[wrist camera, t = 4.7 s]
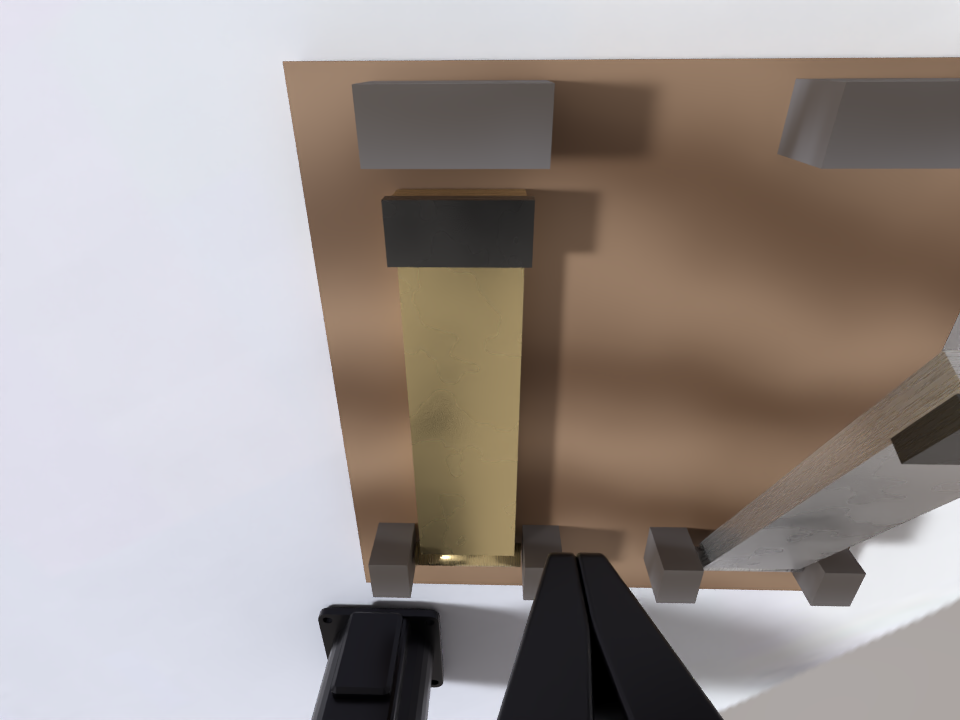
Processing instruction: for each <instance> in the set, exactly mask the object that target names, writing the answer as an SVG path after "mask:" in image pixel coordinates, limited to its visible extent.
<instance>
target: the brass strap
mask: <svg viewBox="0 0 960 720" xmlns="http://www.w3.org/2000/svg"><path fill="white" fill-rule="evenodd" d="M381 204H382V215H383V226H384V237H385V248H386V259H387V267H398V280H399V292H400V305H401V317H402V329H403V342H404V354H405V366H406V379H407V391H408V403H409V416H410V428H411V441H412V453H413V465H414V478H415V490H416V502H417V515H418V527H419V539H420V541H416V544H415V552H414V563H415V565H423V566H479V567H521V545H520V543H515V517H516V489H517V461H518V433H519V405H520V377H521V349H522V321H523V293H524V268H532V260H533V237H534V213H535V198H534V196H527V194H526V190H525V189H397V190H396V191H395V192H394V194H393V195H392V196H384V198H383V199H382V200H381Z"/></svg>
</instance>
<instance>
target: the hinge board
mask: <svg viewBox="0 0 960 720" xmlns="http://www.w3.org/2000/svg"><path fill="white" fill-rule="evenodd" d="M283 67H284V73H285V80H286V86H287V92H288V98H289V104H290V111H291V117H292V123H293V129H294V136H295V142H296V148H297V154H298V160H299V167H300V173H301V179H302V185H303V192H304V198H305V204H306V210H307V216H308V223H309V229H310V235H311V241H312V248H313V254H314V260H315V266H316V272H317V279H318V285H319V291H320V297H321V304H322V310H323V316H324V322H325V328H326V335H327V341H328V347H329V353H330V359H331V366H332V372H333V378H334V384H335V391H336V397H337V403H338V409H339V415H340V422H341V428H342V434H343V440H344V447H345V453H346V459H347V465H348V471H349V478H350V484H351V490H352V496H353V503H354V509H355V515H356V521H357V527H358V534H359V540H360V546H361V552H362V559H363V565H364V571H365V577H366V582H371V586H372V592H373V597H397V598H411V592H412V585H413V583H424V584H476V585H523V600H534V598H535V594H536V591H537V588H538V585H539V581H540V578H541V575H542V572H543V568H544V565H545V562H546V559H547V556H548V554H549V553H551V552H571V553H573V554H574V555H575V556H576V555H577V554H578V553H580V552H598V553H602V554H604V555H605V556H606V558H607V559H608V560H609V562H610V563H611V564H612V566H613V567H614V569H615V570H616V571H617V573H618V574H619V575H620V577H621V578H622V580H623V581H624V582H625V584H626V585H627V587H635V588H652V589H653V593H654V596H655V599H656V603H695V601H696V597H697V594H698V591H699V589H740V590H793V591H803V593H804V595H805V597H806V598H807V600H808V602H809V604H810V605H811V606H850V605H851V603H852V601H853V599H854V597H855V595H856V593H857V591H858V589H859V587H860V585H861V583H862V581H863V579H864V577H865V575H866V573H865V572H864V570H863V569H862V567H861V566H860V565H859V563H858V562H857V561H856V559H855V558H854V556H853V555H852V554H851V552H850V551H849V548H850V547H848V548H846V549H844V550H842V551H839V552H837V553H835V554H833V555H831V556H828V557H826V558H824V559H822V560H819V561H817V562H815V563H813V564H810V565H808V566H806V567H804V569H803V571H802V572H755V571H704V569H703V567H702V564H701V562H700V559H699V557H698V554H697V552H696V550H695V547H694V546H699V543H700V542H701V541H703V540H704V539H705V538H706V537H708V536H709V535H710V534H711V533H713V532H714V531H715V530H716V529H718V528H719V527H720V526H721V525H723V524H724V523H725V522H727V521H728V520H729V519H730V518H732V517H733V516H734V515H735V514H737V513H738V512H739V511H740V510H742V509H743V508H744V507H746V506H747V505H748V504H749V503H751V502H752V501H753V500H754V499H756V498H757V497H758V496H759V495H761V494H762V493H763V492H765V491H766V490H767V489H768V488H770V487H771V486H772V485H773V484H775V483H776V482H777V481H778V480H780V479H781V478H782V477H784V476H785V475H786V474H787V473H789V472H790V471H791V470H792V469H794V468H795V467H796V466H797V465H799V464H800V463H801V462H802V461H804V460H805V459H806V458H808V457H809V456H810V455H811V454H813V453H814V452H815V451H816V450H818V449H819V448H820V447H821V446H823V445H824V444H825V443H827V442H828V441H829V440H830V439H832V438H833V437H834V436H835V435H837V434H838V433H839V432H840V431H842V430H843V429H844V428H846V427H847V426H848V425H849V424H851V423H852V422H853V421H854V420H856V419H857V418H858V417H859V416H861V415H862V414H863V413H864V412H866V411H867V410H868V409H870V408H871V407H872V406H873V405H875V404H876V403H877V402H878V401H880V400H881V399H882V398H883V397H885V396H886V395H887V394H889V393H890V392H891V391H892V390H894V389H895V388H896V387H897V386H899V385H900V384H901V383H902V382H904V381H905V380H906V379H908V378H909V377H910V376H911V375H913V374H914V373H915V372H916V371H918V370H919V369H920V368H921V367H923V366H924V365H925V364H926V363H928V362H929V361H930V360H932V359H933V358H934V357H935V356H937V355H938V354H939V353H940V352H941V351H942V349H943V347H944V345H945V343H946V341H947V338H948V336H949V334H950V332H951V330H952V328H953V326H954V323H955V321H956V319H957V317H958V315H959V313H960V57H942V58H775V59H609V60H442V61H283ZM397 189H525V190H526V194H527V196H534V198H535V213H534V237H533V260H532V268H524V293H523V321H522V349H521V377H520V405H519V433H518V461H517V489H516V517H515V543H520V545H521V567H479V566H423V565H415V563H414V552H415V544H416V541H420V539H419V527H418V515H417V502H416V490H415V478H414V465H413V453H412V441H411V428H410V416H409V403H408V391H407V379H406V366H405V354H404V342H403V329H402V317H401V305H400V292H399V280H398V267H387V259H386V248H385V237H384V226H383V215H382V204H381V200H382V199H383V198H384V196H392V195H393V194H394V192H395V191H396V190H397Z"/></svg>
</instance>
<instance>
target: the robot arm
mask: <svg viewBox="0 0 960 720" xmlns="http://www.w3.org/2000/svg"><path fill="white" fill-rule="evenodd" d="M318 621H319V625H320V629H321V634H322V638H323V642H324V646H325V651H326V655H327V659H328V662H327V666H326V669H325V673H324V676H323V680H322V683H321V687H320V691H319V694H318V698H317V701H316V705H315V708H314V712H313V716H312V719H311V720H427V717H428V707H429V698H430V688H431V687H439V686H441V685H442V684H443V676H444V675H443V660H442V645H441V629H440V616H439V613H437V612H436V611H434V610H414V609H365V608H324V609H322V610H321V612H320V615H319V618H318ZM497 720H724V719H723V718H722V717H721V715H720V714H719V713H718V711H717V710H716V708H715V707H714V706H713V704H712V703H711V701H710V700H709V699H708V697H707V696H706V695H705V693H704V692H703V690H702V689H701V688H700V686H699V685H698V683H697V682H696V681H695V679H694V678H693V677H692V675H691V674H690V672H689V671H688V670H687V668H686V667H685V665H684V664H683V663H682V661H681V660H680V659H679V657H678V656H677V654H676V653H675V652H674V650H673V649H672V647H671V646H670V645H669V643H668V642H667V641H666V639H665V638H664V636H663V635H662V634H661V632H660V631H659V629H658V628H657V627H656V625H655V624H654V623H653V621H652V620H651V618H650V617H649V616H648V614H647V613H646V611H645V610H644V609H643V607H642V606H641V605H640V603H639V602H638V600H637V599H636V598H635V596H634V595H633V593H632V592H631V591H630V589H629V588H628V587H627V585H626V584H625V582H624V581H623V580H622V578H621V577H620V575H619V574H618V573H617V571H616V570H615V569H614V567H613V566H612V564H611V563H610V562H609V560H608V559H607V558H606V556H605V555H604V554H602V553H598V552H580V553H578V554H577V555H576V556H575V555H574V554H573V553H571V552H551V553H549V554H548V556H547V559H546V562H545V565H544V568H543V572H542V575H541V578H540V581H539V585H538V588H537V591H536V594H535V598H534V601H533V604H532V607H531V611H530V614H529V617H528V620H527V624H526V627H525V630H524V634H523V637H522V640H521V643H520V647H519V650H518V653H517V656H516V660H515V663H514V666H513V669H512V673H511V676H510V679H509V682H508V686H507V689H506V692H505V695H504V699H503V702H502V705H501V708H500V712H499V715H498V718H497Z"/></svg>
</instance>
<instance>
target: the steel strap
mask: <svg viewBox="0 0 960 720" xmlns="http://www.w3.org/2000/svg"><path fill="white" fill-rule="evenodd" d="M958 498H960V350H943V351H942V352H940V353H939V354H938V355H937V356H935V357H934V358H933V359H932V360H930V361H929V362H928V363H926V364H925V365H924V366H923V367H921V368H920V369H919V370H918V371H916V372H915V373H914V374H913V375H911V376H910V377H909V378H908V379H906V380H905V381H904V382H902V383H901V384H900V385H899V386H897V387H896V388H895V389H894V390H892V391H891V392H890V393H889V394H887V395H886V396H885V397H883V398H882V399H881V400H880V401H878V402H877V403H876V404H875V405H873V406H872V407H871V408H870V409H868V410H867V411H866V412H864V413H863V414H862V415H861V416H859V417H858V418H857V419H856V420H854V421H853V422H852V423H851V424H849V425H848V426H847V427H846V428H844V429H843V430H842V431H840V432H839V433H838V434H837V435H835V436H834V437H833V438H832V439H830V440H829V441H828V442H827V443H825V444H824V445H823V446H821V447H820V448H819V449H818V450H816V451H815V452H814V453H813V454H811V455H810V456H809V457H808V458H806V459H805V460H804V461H802V462H801V463H800V464H799V465H797V466H796V467H795V468H794V469H792V470H791V471H790V472H789V473H787V474H786V475H785V476H784V477H782V478H781V479H780V480H778V481H777V482H776V483H775V484H773V485H772V486H771V487H770V488H768V489H767V490H766V491H765V492H763V493H762V494H761V495H759V496H758V497H757V498H756V499H754V500H753V501H752V502H751V503H749V504H748V505H747V506H746V507H744V508H743V509H742V510H740V511H739V512H738V513H737V514H735V515H734V516H733V517H732V518H730V519H729V520H728V521H727V522H725V523H724V524H723V525H721V526H720V527H719V528H718V529H716V530H715V531H714V532H713V533H711V534H710V535H709V536H708V537H706V538H705V539H704V540H703V541H701V542H700V543H699V546H694V547H695V550H696V552H697V554H698V557H699V559H700V562H701V564H702V567H703V569H704V571H755V572H802V571H803V569H804V567H806V566H808V565H810V564H813V563H815V562H817V561H819V560H822V559H824V558H826V557H828V556H831V555H833V554H835V553H837V552H839V551H842V550H844V549H846V548H848V547H851V546H853V545H855V544H857V543H860V542H862V541H864V540H866V539H868V538H871V537H873V536H875V535H877V534H880V533H882V532H884V531H886V530H889V529H891V528H893V527H895V526H898V525H900V524H902V523H904V522H906V521H909V520H911V519H913V518H915V517H918V516H920V515H922V514H924V513H927V512H929V511H931V510H933V509H935V508H938V507H940V506H942V505H944V504H947V503H949V502H951V501H953V500H956V499H958Z"/></svg>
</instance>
